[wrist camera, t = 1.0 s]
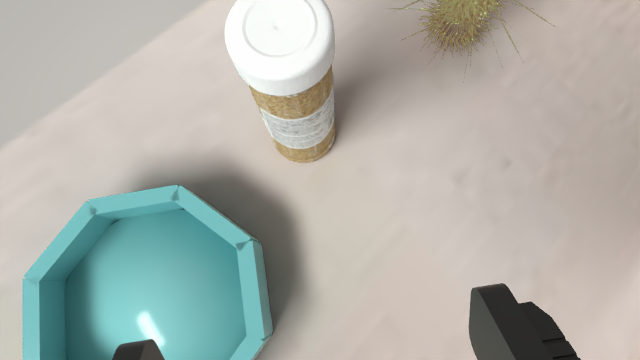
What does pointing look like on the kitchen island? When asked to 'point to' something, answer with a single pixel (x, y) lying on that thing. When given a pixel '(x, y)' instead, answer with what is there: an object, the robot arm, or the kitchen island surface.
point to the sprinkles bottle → (287, 70)
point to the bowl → (148, 282)
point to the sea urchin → (461, 20)
